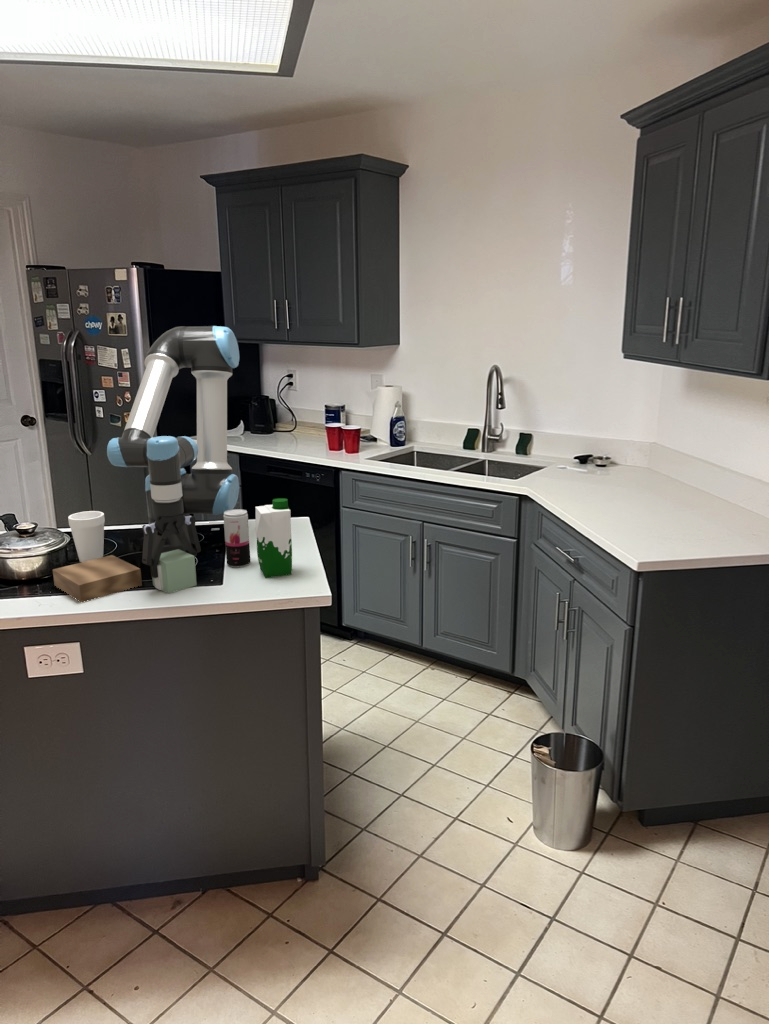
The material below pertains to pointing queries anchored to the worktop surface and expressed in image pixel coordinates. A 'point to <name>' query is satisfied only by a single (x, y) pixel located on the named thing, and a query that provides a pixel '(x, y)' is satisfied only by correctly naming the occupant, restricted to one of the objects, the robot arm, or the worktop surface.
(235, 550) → the beverage can
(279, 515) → the milk carton
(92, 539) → the foam cup
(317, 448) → the worktop surface
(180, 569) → the sage cube
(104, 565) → the walnut block
